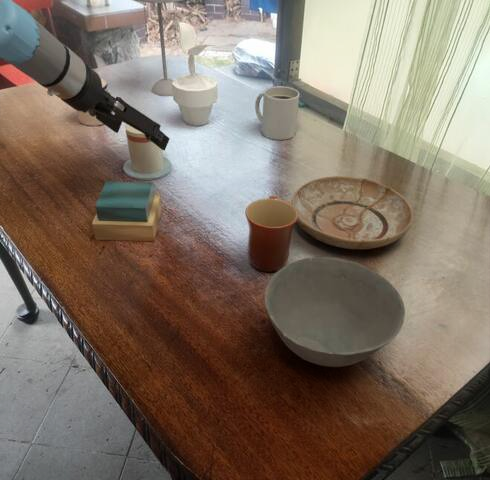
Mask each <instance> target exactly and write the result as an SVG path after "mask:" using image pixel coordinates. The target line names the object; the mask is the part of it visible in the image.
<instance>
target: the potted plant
mask: <svg viewBox="0 0 490 480" xmlns="http://www.w3.org/2000/svg"><path fill="white" fill-rule="evenodd" d="M174 15H175V20H174V19H173V21H172V24H173V25H174V28H175V31H178V29H179V39H178V37H176V40H175V43H176V44H177V45H180V49H181V51H182V52H183V53H184V54H185V55H188V59H187V62H188V71H189V74H188V75H181V76H179V77H176V78H174V79H172V80H173V83H172V89H173V95H172V101H174V102H175V103H176V104H177V106H178V109H179V111H180V114H181V116H182V118H183V121H184V122H185V123H186V124H187V125H190V126H194V127H195V126H196V127H199V126H203V125H205V124H208V123H209V120H210V117H211V113H212V109H213V106H214V104H216V103H217V101H218V81H217V80H216V79H215V78H214V77H211V76H207V75H203V74H201V73H196V66H195V56H199V55H200V54H201V53H202V52H203V51H204V50H205V49H206V48H207V47H214V46H215V44H214V43H206V44H198V45H196V43H197V33H196V29H195V28H194V27H193V26H192V25H191V24H189V23H188V22H181V21H178V19H177V14H176V13H174ZM167 34H168V35H167V36H166V38H168V40H169V42H170V41H171V38H172V36H171V35H170V33H167Z"/></svg>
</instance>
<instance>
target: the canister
mask: <svg viewBox="0 0 490 480" xmlns="http://www.w3.org/2000/svg"><path fill="white" fill-rule="evenodd" d="M153 121H154V122H156V123H158V122H157V121H155V120H153ZM124 126H125V127H124V128H125V135H126V139H127V140H126V141H127V147H128V153H129V159H131V166H132V169H133V170H134V171H136V172H139V173H154V172H157V171H159V170H161V169H162V168H163V166H164V164H163V157H164V155H163V150H162V149H161V148H159V147H158V146H157V145H155V144H154V143H153V142H152V141H150V140H146V137H145V134H144V133H142V132H140V131H138V130H136V129H135V128H133V127H131V126H129V125H128V124H126V125H124ZM159 130H160V131H161V128H160V129H159Z"/></svg>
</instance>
